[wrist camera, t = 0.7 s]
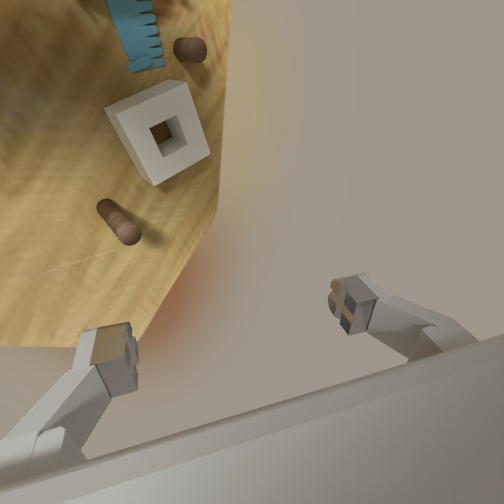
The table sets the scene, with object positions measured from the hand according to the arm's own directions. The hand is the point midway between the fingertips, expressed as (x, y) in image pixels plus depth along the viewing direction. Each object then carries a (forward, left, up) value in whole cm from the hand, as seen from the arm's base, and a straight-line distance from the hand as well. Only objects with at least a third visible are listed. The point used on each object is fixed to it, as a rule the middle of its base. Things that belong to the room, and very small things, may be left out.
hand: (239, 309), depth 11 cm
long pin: (+16, 0, -46) cm, 48 cm away
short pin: (-1, +24, -46) cm, 52 cm away
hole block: (+8, +14, -46) cm, 48 cm away
